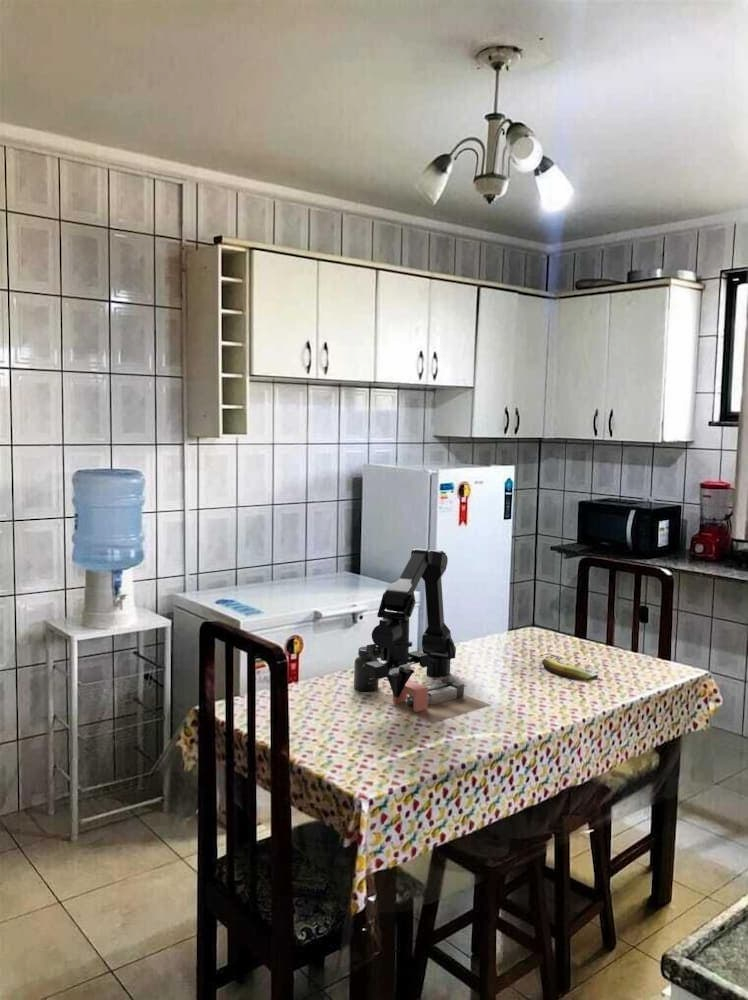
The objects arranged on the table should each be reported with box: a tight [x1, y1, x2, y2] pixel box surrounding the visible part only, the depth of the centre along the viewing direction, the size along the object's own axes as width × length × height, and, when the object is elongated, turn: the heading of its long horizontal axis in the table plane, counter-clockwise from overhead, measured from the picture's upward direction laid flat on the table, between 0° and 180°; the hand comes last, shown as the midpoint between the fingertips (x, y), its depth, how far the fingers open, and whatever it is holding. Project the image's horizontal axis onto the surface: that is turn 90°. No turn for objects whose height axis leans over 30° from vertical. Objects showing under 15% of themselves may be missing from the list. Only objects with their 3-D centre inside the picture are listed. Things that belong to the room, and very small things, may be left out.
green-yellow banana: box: [540, 653, 599, 692], centre depth 249 cm, size 35×27×4 cm
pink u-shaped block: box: [393, 679, 428, 712], centre depth 216 cm, size 4×9×6 cm, turn 40°
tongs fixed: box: [407, 677, 455, 707], centre depth 222 cm, size 16×4×4 cm, turn 130°
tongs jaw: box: [428, 681, 465, 705], centre depth 220 cm, size 15×3×3 cm, turn 127°
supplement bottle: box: [353, 646, 380, 693], centre depth 230 cm, size 7×7×12 cm
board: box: [376, 682, 491, 724], centre depth 221 cm, size 21×22×1 cm
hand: (396, 696), depth 213 cm, fingers closed
